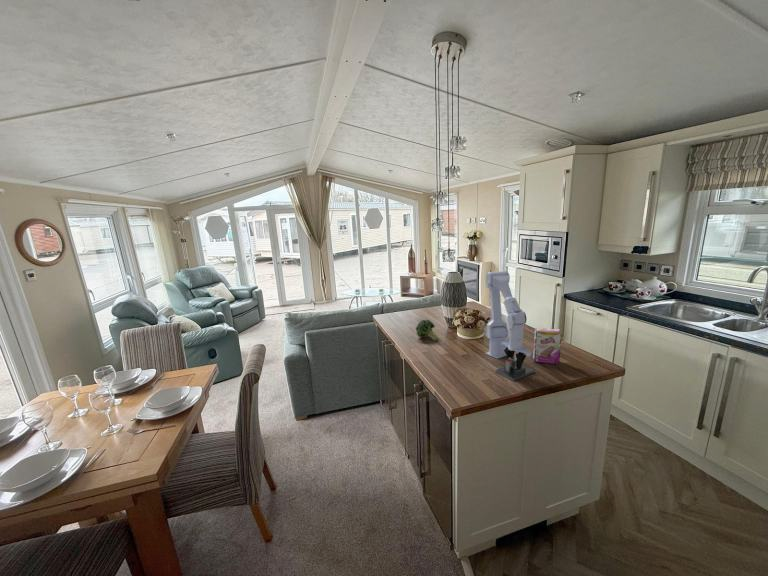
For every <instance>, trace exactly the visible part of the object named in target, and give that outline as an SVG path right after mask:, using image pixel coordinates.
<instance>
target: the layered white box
mask: <svg viewBox="0 0 768 576" xmlns="http://www.w3.org/2000/svg"><path fill="white" fill-rule="evenodd" d="M507 359H508V358H507ZM508 360H511V361H512V362H511V368H513V369H519V368H517V359H516V355H515V354H514V356H512V357H509V359H508ZM520 368H521V367H520Z"/></svg>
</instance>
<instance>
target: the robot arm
mask: <svg viewBox="0 0 768 576" xmlns="http://www.w3.org/2000/svg"><path fill="white" fill-rule="evenodd" d="M510 278H511V277H510V273H509V271H508V270H503V271H502V270H501V271H488V272H487V273H486V275H485V283H486V288H487V289H489V298H490V316H491V320H489V322H487V323H486V327H485V335H486V337H487V339H489V349H488V350H489V351H487V352H485V355H488V356H490V357H493V358H495V359H501V358H503V357H507V359H509V357H512V356H514V355H515V356H516V359H517V368H520V367H522V365H523V363H524V361H525V359H526V357H528V358H529V357H531V356H532V351H531V350H529V349H527V348H526V347H524V345H523V344H524V343H523V342H524V325H525V324H526V323H527V320H528V319H527V315H526V313H525V311H523V309H521V308H520V304H519V302H518V301H517V298H515V297H513V294H512V291H511V287H510ZM501 296H502V297H503V299H504V301H503V305H504V308H505V311H506V313H507V316H506V318H507V323H506V322H505V321H504V320H503V318H502V316H503V315H502V304H501V303H502V302H501ZM508 328H509V329H508ZM515 352H518V353H515Z"/></svg>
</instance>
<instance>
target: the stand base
mask: <svg viewBox="0 0 768 576" xmlns="http://www.w3.org/2000/svg"><path fill="white" fill-rule="evenodd" d="M511 362H512V361H511V360H508V358H507V359H505V365H504V366H503V367H500V368H498V369H495V373H496V374H498V375H501V376H503V377H505V378H507V379H509V380H510V381H512V382H514V381H517V380H519V379H522V378H524V377H526V376H527V377H528V376H529V375H532V374H534V373H535V369H533V368H530V367H528V366H525V365H523V364H522V367H521V368H519V369H513V368H511Z"/></svg>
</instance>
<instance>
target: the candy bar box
mask: <svg viewBox="0 0 768 576" xmlns="http://www.w3.org/2000/svg"><path fill="white" fill-rule="evenodd" d="M562 335H563V334H562V331H561V329H557V328H545V327H544V328H543V327H535V328H534V340H533V351H532V352H533V353H532V359H533V362H534V363H541V364H542V363H543V364H553V365H560V356H561V347H562V346H561V345H562Z"/></svg>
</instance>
